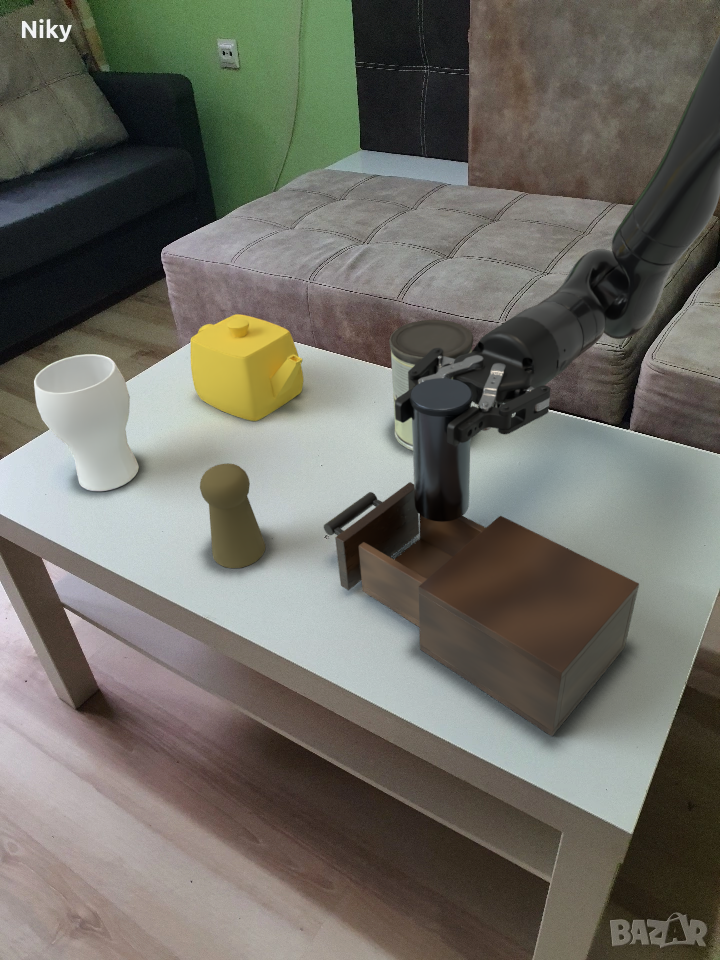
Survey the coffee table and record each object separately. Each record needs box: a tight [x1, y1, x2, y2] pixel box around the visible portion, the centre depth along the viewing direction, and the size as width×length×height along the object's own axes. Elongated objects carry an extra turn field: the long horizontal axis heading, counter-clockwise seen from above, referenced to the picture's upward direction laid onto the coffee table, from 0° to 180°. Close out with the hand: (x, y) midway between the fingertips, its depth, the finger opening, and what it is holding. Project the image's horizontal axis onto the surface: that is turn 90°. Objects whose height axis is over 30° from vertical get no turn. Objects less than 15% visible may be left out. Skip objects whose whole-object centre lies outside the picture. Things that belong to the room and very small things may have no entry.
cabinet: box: [418, 515, 640, 737], centre depth 69 cm, size 15×13×9 cm
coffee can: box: [388, 319, 474, 452], centre depth 97 cm, size 10×10×14 cm
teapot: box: [190, 313, 304, 422], centre depth 108 cm, size 20×12×12 cm, turn 51°
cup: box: [33, 353, 139, 492], centre depth 94 cm, size 11×11×15 cm
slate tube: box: [410, 378, 473, 522], centre depth 72 cm, size 6×6×13 cm
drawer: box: [323, 482, 487, 628], centre depth 77 cm, size 18×11×7 cm, turn 47°
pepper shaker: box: [199, 463, 267, 569], centre depth 82 cm, size 6×6×11 cm
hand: (424, 424), depth 68 cm, fingers closed on slate tube, 5 cm apart
